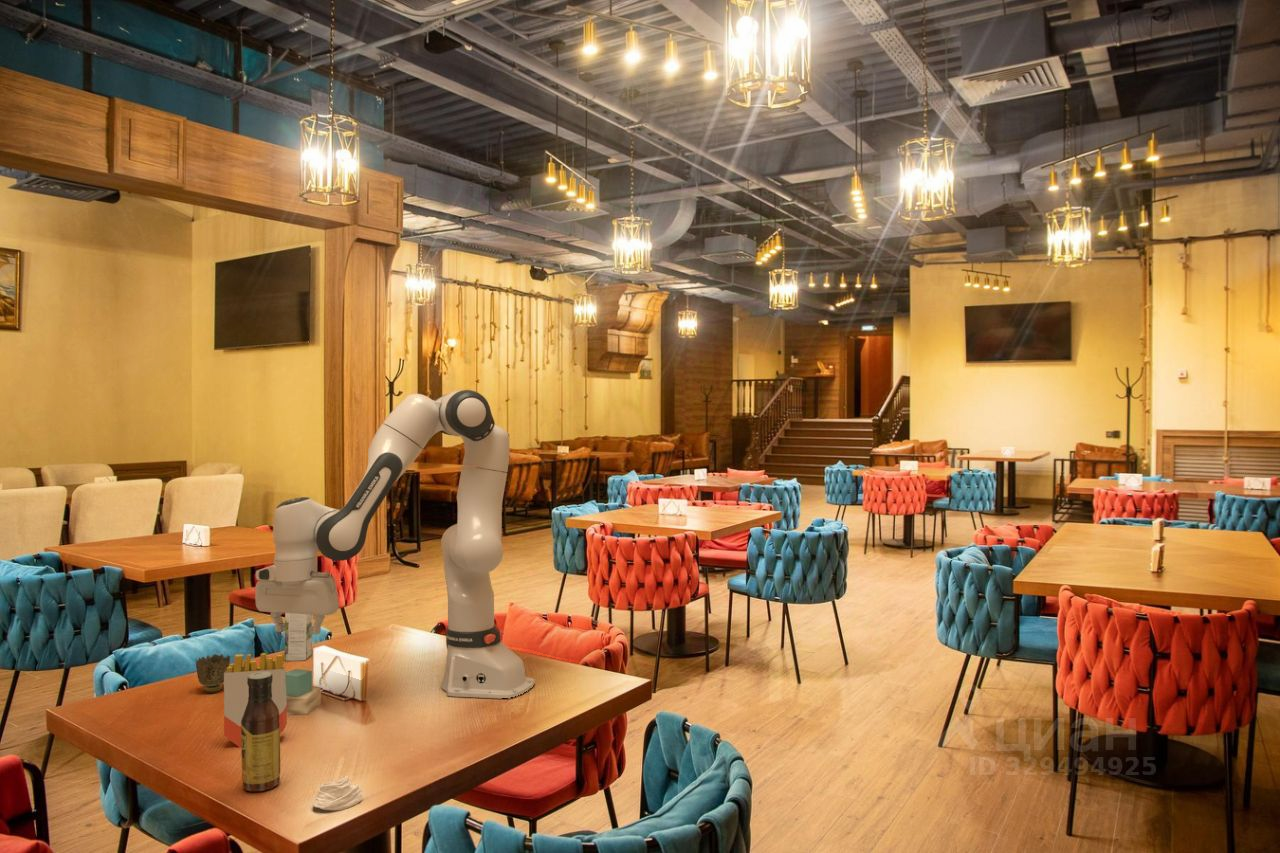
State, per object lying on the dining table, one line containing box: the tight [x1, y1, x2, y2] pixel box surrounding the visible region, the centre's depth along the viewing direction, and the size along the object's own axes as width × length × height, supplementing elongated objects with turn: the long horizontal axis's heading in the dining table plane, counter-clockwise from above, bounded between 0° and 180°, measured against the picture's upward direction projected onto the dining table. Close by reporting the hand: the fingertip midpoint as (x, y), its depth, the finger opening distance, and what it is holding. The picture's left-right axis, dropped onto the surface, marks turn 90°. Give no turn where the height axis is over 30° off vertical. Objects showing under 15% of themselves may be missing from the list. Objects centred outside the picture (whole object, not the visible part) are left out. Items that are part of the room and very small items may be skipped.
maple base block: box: [286, 686, 322, 716], centre depth 191 cm, size 8×8×4 cm
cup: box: [195, 653, 231, 694], centre depth 204 cm, size 8×7×8 cm
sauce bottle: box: [240, 671, 281, 792], centre depth 150 cm, size 6×6×20 cm
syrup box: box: [284, 613, 313, 662], centre depth 232 cm, size 6×6×14 cm
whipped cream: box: [311, 775, 363, 812], centre depth 143 cm, size 8×7×5 cm
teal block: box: [285, 668, 313, 697], centre depth 191 cm, size 4×4×4 cm
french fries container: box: [223, 652, 288, 748], centre depth 171 cm, size 5×11×18 cm, turn 104°
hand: (298, 632), depth 191 cm, fingers open, 8 cm apart
